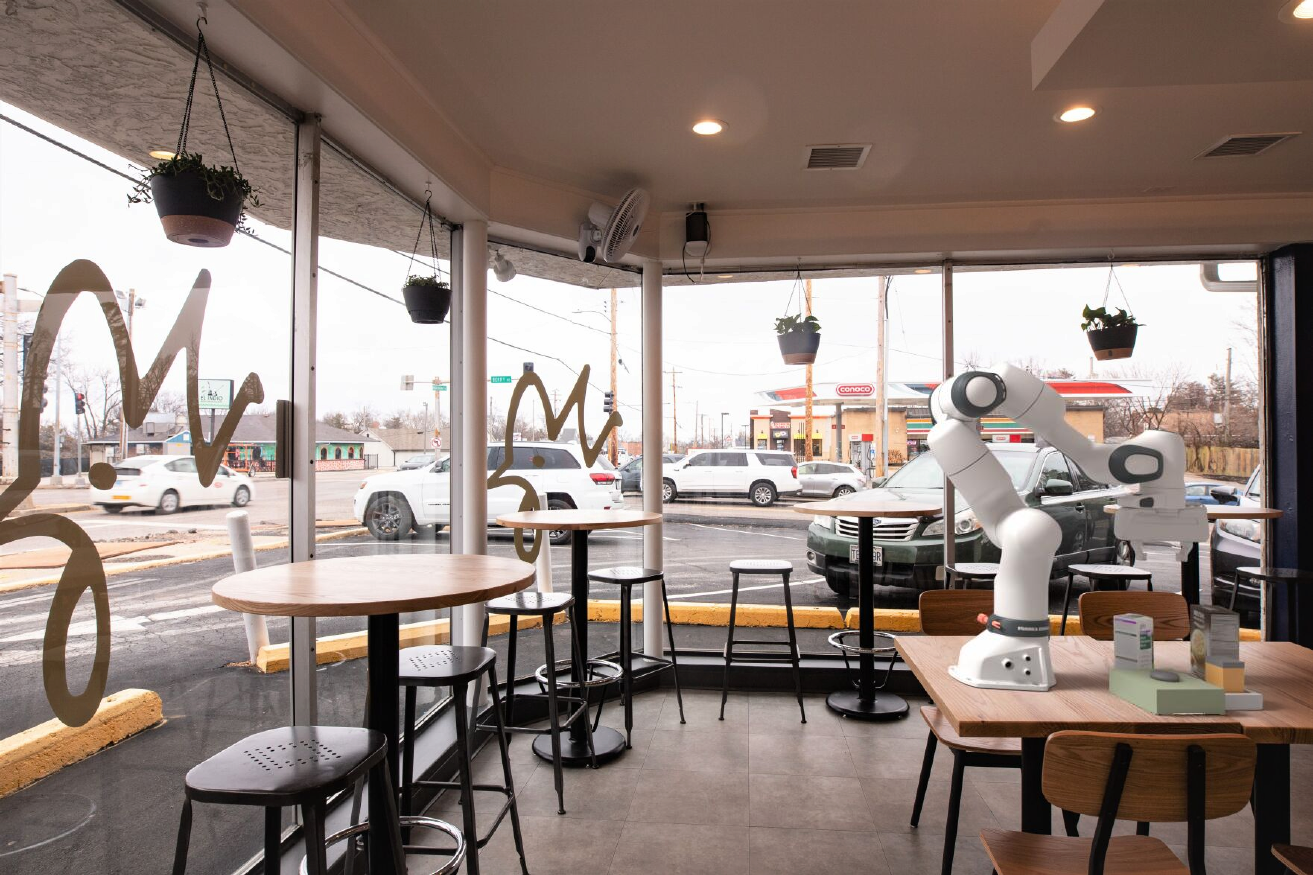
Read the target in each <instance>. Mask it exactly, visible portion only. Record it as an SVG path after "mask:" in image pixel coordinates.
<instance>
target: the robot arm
mask: <svg viewBox="0 0 1313 875" xmlns="http://www.w3.org/2000/svg"><path fill="white" fill-rule="evenodd" d="M927 409H928V413H929V415H930V420H931V421H930V422H931V424H932V427H931V428H930V430H929V432H928V434H927V437H926V441H927V442H926V444H927V446H928V447H929V449H930V452H931V454H932V455H933V457H934V459H935V462H937V464H938V465H939V467H940V469H941V470H942V471H943V473H944V474H945V476H946V477H947V478H948V479H949V480H950V482H951V483H952V484H953V486H954V487H955V489H956V490H957V491H958V492H959V494H960V495H961V496H962V498H963V499H964V500H965V502H966V503H967V505H968V506H969V507H970V509H971V511H972V513H973V514H974V516H975V518H976V520H977V521H978V523H979V525H980V526H981V528H982V530H983V531H984V532H985V535H986V536H987V538H988V539H989V541H990V542H991V543H992V544H993V545H994V546H995V547H996V548H998V549H1001V557H1000V560H999V561H1000V562H999V567H998V570H997V573H996V576H995V577H994V579H993V587H994V588H993V612H992V614H991V615H990V616H988V615H986V614H984V613H979V614H978V616H977V621H978V622H979V623H981V624H984V625H986V629H985V630H983V631H982V632H980V633H979V634H978V635H977V636H975V637H973V638H972V639H971V640H969V641H968V642H967V643H964V644H963V645H962V646H961V649H960V652H959V656H958V663H957V665H956V664H955V665H949V666H948V668H947V672H948V674H949V675H950V676H951V677H952V678H953V679H955V680H957V681H959V682H961V683H963V684H966V685H969V686H972V687H975V688H980V689H981V688H983V689H1001V690H1003V689H1005V690H1021V691H1023V690H1024V691H1036V692H1037V691H1038V692H1039V691H1041V692H1046V691H1049V690H1050V687H1053V686H1055V685H1056V684H1057V679H1056V676H1055V674H1054V669H1053V666H1052V659H1051V653H1050V641H1051V640H1050V638H1051V619H1050V617H1049V584H1050V583H1049V582H1050V577H1051V571H1052V568H1053V563H1054V559H1055V554H1056V551H1058V549H1059V548H1060V547H1061V543H1062V541H1063V532H1062V528H1061V526H1060V524H1059V523H1058V522H1057V521H1056V520H1055V518H1053V517H1052V516H1051V515H1049V514H1048V513H1047V512H1045V511H1043V510H1040V509H1038V508H1032V507H1029V506H1028V505H1026V503H1024V501H1023V500H1022V499H1021V497H1020V495H1019V493H1018V492H1017V490H1016V487H1015V486H1014V484H1013V482H1012V477H1011V475H1010V474H1009V472H1008V471H1007V470H1006V468H1005V467H1004V466H1003V465H1002V463H1001V462H1000V461H999V460H998V458H997V457H996V456H995V454H994V453H993V452H992V451H991V449H990V448H989V447H988V446H987V445H986V443H985V442H984V441H983V440H982V439H981V438H980V435H979V433H978V430H977V428H976V420H977V419H979V418H983V417H986V416H987V415H989V414H991V413H992V412H993V411H997V412H999V413H1001V414H1003V416H1005V417H1007V418H1008V419H1009V420H1011V421H1012V422H1013V423H1016V424H1017V425H1019V426H1021V427H1022V428H1024V429H1026V430H1027V431H1029V432H1030V433H1033V434H1034V435H1036V436H1038V437H1039V438H1040V439H1041V440H1044V441H1045V442H1046V443H1047V444H1049V445H1050V446H1052V448H1054V449H1055V450H1057V451H1058V452H1059V453H1060V454H1062V455H1063V456H1064V457H1066V458H1067V459H1069V460H1070V461H1071V462H1072V463H1073V464H1074V466H1075V468H1076V469H1077V470H1078V472H1079V474H1080V475H1081V477H1082V478H1084V480H1086V481H1087V482H1089V483H1091V484H1094V485H1097V486H1100V485H1101V486H1103V485H1104V486H1106V485H1116V486H1117V485H1118V486H1119V485H1120V486H1121V485H1122V486H1133V485H1136V484H1139V486H1138V488H1139V491H1135V492H1133V493H1130V494H1126V495H1123V496H1122V495H1121V496H1119V497H1118V498H1117V499H1116V500H1117V501H1116V504H1117V506H1119V508H1118V509H1117V510H1116V512H1115V514H1114V524H1113V534H1114V535H1115V537H1116V538H1117V539H1118V540H1120V541H1121V540H1122V541H1130V546H1131V548H1132V550H1133V551H1134V553H1135V560H1136V561H1141V562H1142V561H1143V562H1144V561H1147V559H1148V557H1147V556H1148V553H1147V552H1144V551H1143V549H1142V547H1141V546H1143V545H1144V544H1143V542H1146V541H1147V542H1177V543H1178V542H1179V543H1180V544H1179V545H1180V546H1181V549H1180V550H1179V552H1175V561H1176V562H1183V563H1184V562H1185V563H1186V562H1188V555H1189V553H1190V552H1191V551H1192V549H1193V547H1194V544H1193V543H1207V542H1208V541H1209V539H1210V535H1211V534H1210V526H1209V520H1208V508H1207V506H1206V505H1205V504H1203V503H1202V502H1201V501H1198V500H1197V501H1189V500H1186V499H1187V498H1186V497H1187V494H1186V493H1187V492H1186V491H1187V490H1186V489H1187V486H1186V483H1185V479H1184V478H1185V474H1186V471H1187V451H1186V446H1185V441H1184V438H1183V437H1182V436H1181V435H1180V434H1179V433H1178V432H1175V431H1172V430H1171V431H1170V430H1167V429H1159V428H1158V429H1156V428H1152V429H1151V428H1150V429H1146V430H1144V431H1143V432H1142V433H1141V434H1139V435H1137V436H1135V437H1133V438H1131V439H1130V438H1129V439H1128V440H1126V441H1125V440H1124V441H1123V442H1120V443H1104V442H1103V443H1102V442H1097V441H1094V440H1091V439H1089V438H1088V437H1086V436H1085V435H1084V434H1082V433H1081V432H1080V431H1078V430H1076V428H1074V427H1073V426H1072V425H1070V424H1069V423H1067V421H1066V420H1065V418H1064V417H1065V415H1066V410H1067V404H1066V401H1065V398H1064V397H1063V396H1062V395H1061V393H1059V392H1058V391H1057V390H1056V389H1055V388H1054V387H1052V386H1051V385H1049V384H1048V383H1047V382H1045V381H1043V380H1042V379H1040V378H1038V377H1037V376H1036V375H1033V374H1032V373H1030V372H1028V371H1027V370H1023V369H1021V368H1019V367H1017V366H1016V365H1013V364H1011V363H1010V364H1009V363H1006V362H1002V363H998V364H995V365H993V366H992V367H990V368H989V369H988V370H987V371H982V370H981V371H980V370H971V371H970V370H969V371H966V372H963V373H961V374H958V375H954V376H951V377H950V378H947V379H945V380H944V381H943V382H941V383H939V384H937V385H936V386H935V387H934V388H933V389H932V390H931V392H930V394H929V396H928V399H927Z"/></svg>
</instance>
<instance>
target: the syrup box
mask: <svg viewBox="0 0 1313 875" xmlns="http://www.w3.org/2000/svg"><path fill="white" fill-rule="evenodd" d="M1154 646H1155V645H1154V618H1153V617H1151V616H1148V615H1143V614H1137V613H1125V614H1123V613H1122V614H1117V615H1116V614H1115V615H1113V651H1114V652H1113V654H1114V655H1113V656H1114V658H1113V659H1114V661H1113V662H1114V669H1155V657H1154V656H1155V654H1154V653H1155V651H1154V648H1155V647H1154Z"/></svg>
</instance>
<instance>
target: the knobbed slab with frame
mask: <svg viewBox="0 0 1313 875" xmlns="http://www.w3.org/2000/svg"><path fill="white" fill-rule="evenodd" d="M1108 671H1109V672H1108V674H1109V677H1108V678H1109V680H1108V685H1109V686H1108V688H1109V691H1108V692H1109V694H1112V695H1113V696H1116V697H1117V698H1119V699H1122V700H1124V701H1126V702H1128V703H1131V704H1132V705H1134V704H1135V706H1137V707H1139V708H1140V709H1143V710H1145V711H1147V712H1148V713H1151V712H1153V713H1154V715H1155V714H1157V715H1156V716H1160V715H1159V714H1173V713H1203V714H1204V713H1205V714H1220V715H1219V716H1223V715H1224V716H1225V715H1226V711H1239V710H1240V711H1255V710H1256V711H1258V710H1259V711H1261V710H1262V711H1263V705H1264V704H1263V703H1264V702H1263V694H1261V693H1259V692H1256V691H1254V690H1250V689H1249V688H1248V689H1247V688H1245V687H1244V693H1225V689H1223V688H1220V687H1218V686H1215V685H1213V684H1210V683H1207V682H1206V680H1202V679H1199V678H1197V677H1194V676H1192V675H1188V674H1186V673H1184V672H1181V671H1178V670H1175V669H1174V668H1154V669H1115V668H1109V670H1108ZM1153 713H1152V714H1153Z"/></svg>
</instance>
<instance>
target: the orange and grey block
mask: <svg viewBox="0 0 1313 875" xmlns="http://www.w3.org/2000/svg"><path fill="white" fill-rule="evenodd" d="M1205 664H1206V680H1205V682H1207V683H1210V684H1213V685H1215V686H1218V687H1220V688H1223V689H1225V693H1244V688H1245V661H1241V660H1240V659H1239V660H1236V659H1233V658H1230V657H1227V656H1205Z"/></svg>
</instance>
